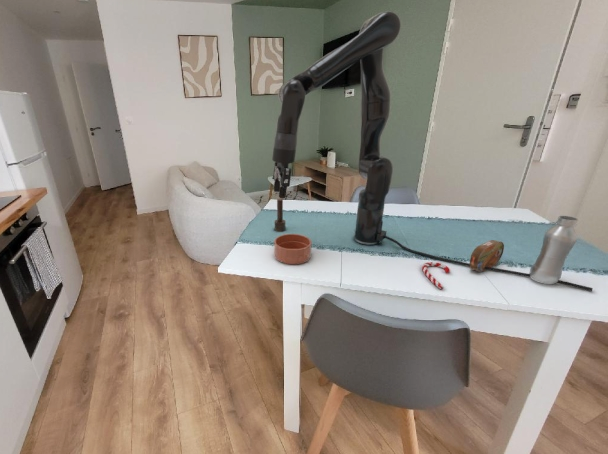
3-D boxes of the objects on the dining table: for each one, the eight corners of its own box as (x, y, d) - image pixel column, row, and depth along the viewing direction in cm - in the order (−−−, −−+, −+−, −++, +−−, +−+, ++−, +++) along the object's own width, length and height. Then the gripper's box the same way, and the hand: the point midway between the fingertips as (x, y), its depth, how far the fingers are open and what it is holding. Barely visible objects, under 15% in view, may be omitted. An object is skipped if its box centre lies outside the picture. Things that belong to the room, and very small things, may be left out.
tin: (475, 275, 90) (482, 251, 87) (464, 271, 92) (471, 247, 89) (500, 262, 96) (508, 239, 93) (489, 258, 99) (497, 236, 95)
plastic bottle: (520, 276, 89) (544, 214, 81) (541, 274, 89) (566, 213, 81) (542, 288, 83) (569, 223, 75) (564, 286, 83) (593, 221, 75)
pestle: (286, 227, 131) (286, 198, 125) (284, 232, 127) (284, 201, 121) (276, 226, 132) (275, 197, 127) (273, 231, 128) (273, 200, 123)
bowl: (312, 250, 110) (313, 235, 108) (307, 267, 99) (308, 251, 96) (278, 246, 114) (278, 232, 112) (270, 262, 103) (270, 247, 101)
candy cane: (428, 284, 85) (420, 259, 98) (427, 287, 85) (419, 263, 98) (459, 288, 82) (447, 263, 95) (458, 292, 83) (446, 266, 95)
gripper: (302, 150, 90) (294, 200, 96) (290, 145, 104) (284, 190, 109) (278, 149, 89) (273, 199, 95) (269, 144, 102) (265, 189, 108)
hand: (279, 194), depth 102 cm, fingers open, 8 cm apart
